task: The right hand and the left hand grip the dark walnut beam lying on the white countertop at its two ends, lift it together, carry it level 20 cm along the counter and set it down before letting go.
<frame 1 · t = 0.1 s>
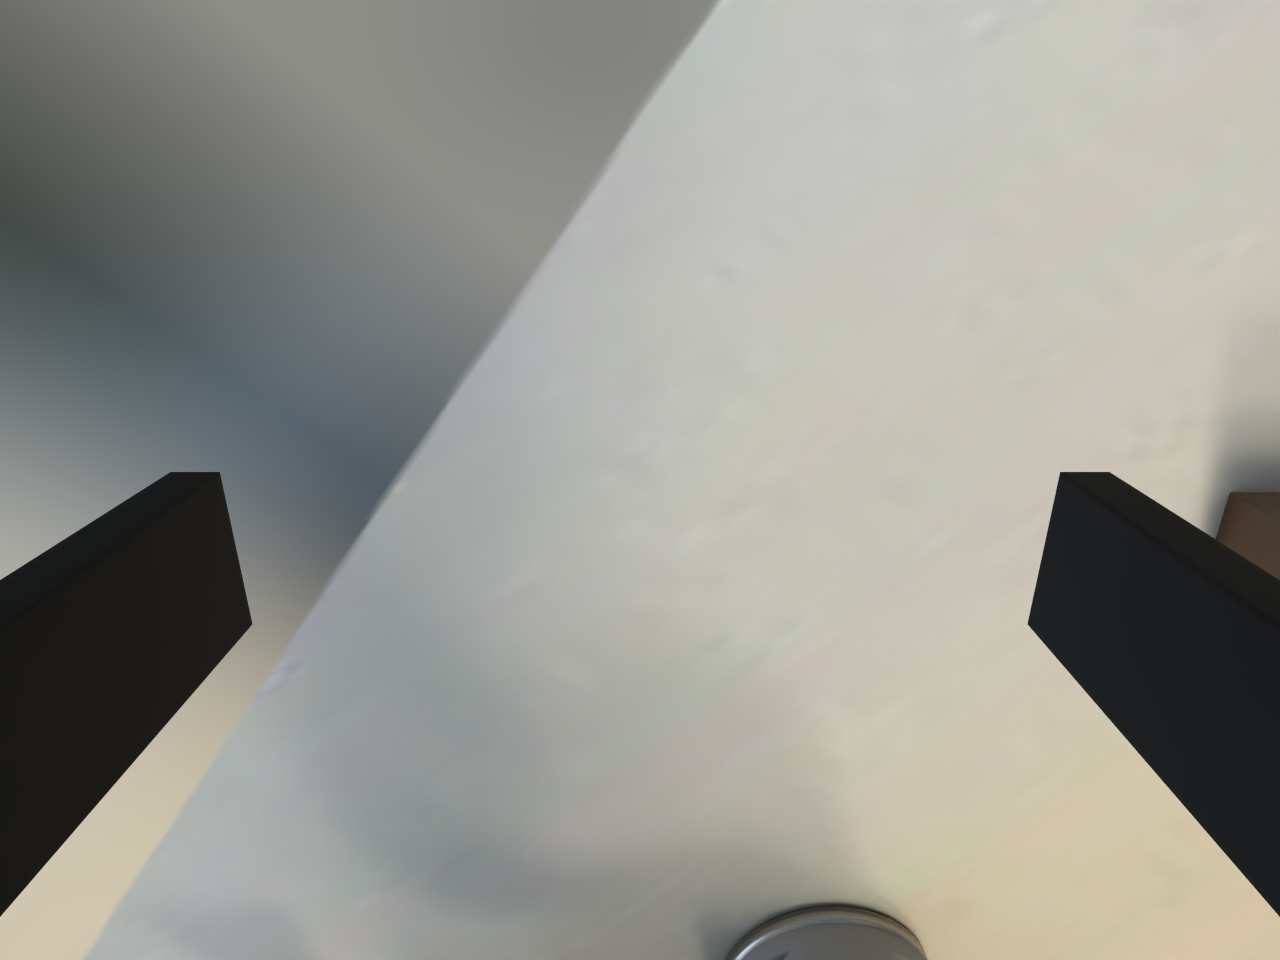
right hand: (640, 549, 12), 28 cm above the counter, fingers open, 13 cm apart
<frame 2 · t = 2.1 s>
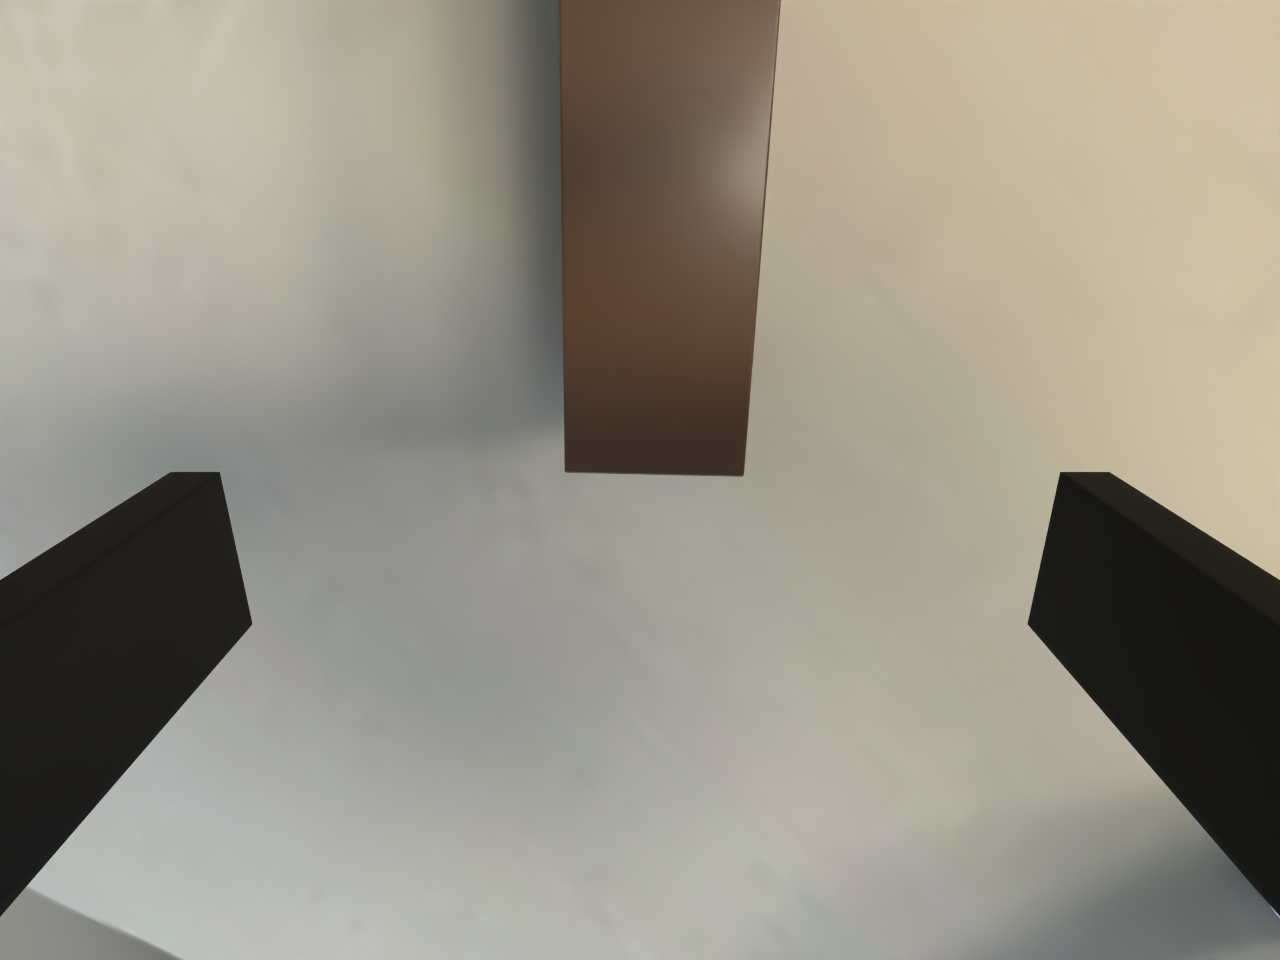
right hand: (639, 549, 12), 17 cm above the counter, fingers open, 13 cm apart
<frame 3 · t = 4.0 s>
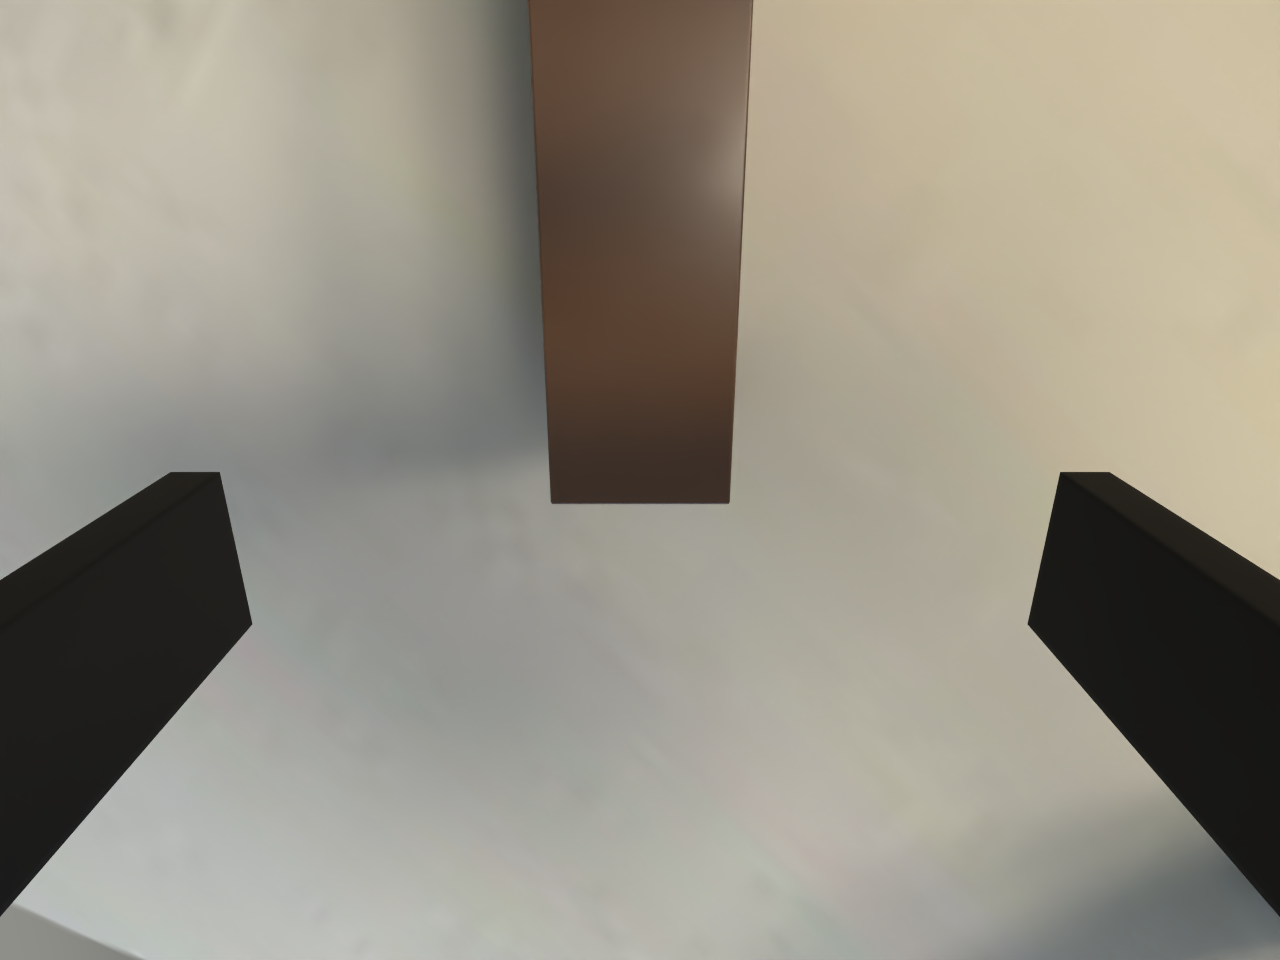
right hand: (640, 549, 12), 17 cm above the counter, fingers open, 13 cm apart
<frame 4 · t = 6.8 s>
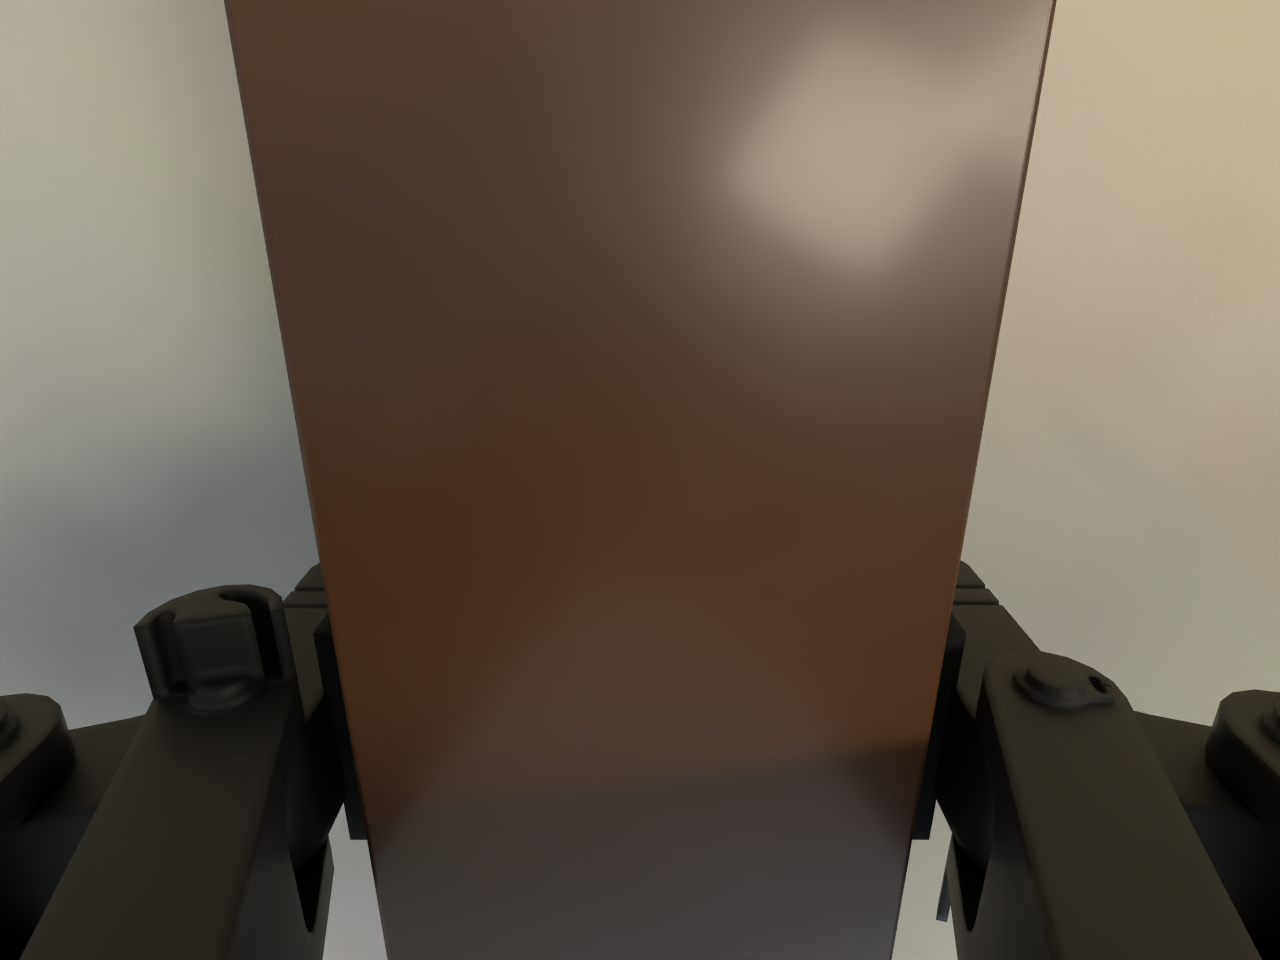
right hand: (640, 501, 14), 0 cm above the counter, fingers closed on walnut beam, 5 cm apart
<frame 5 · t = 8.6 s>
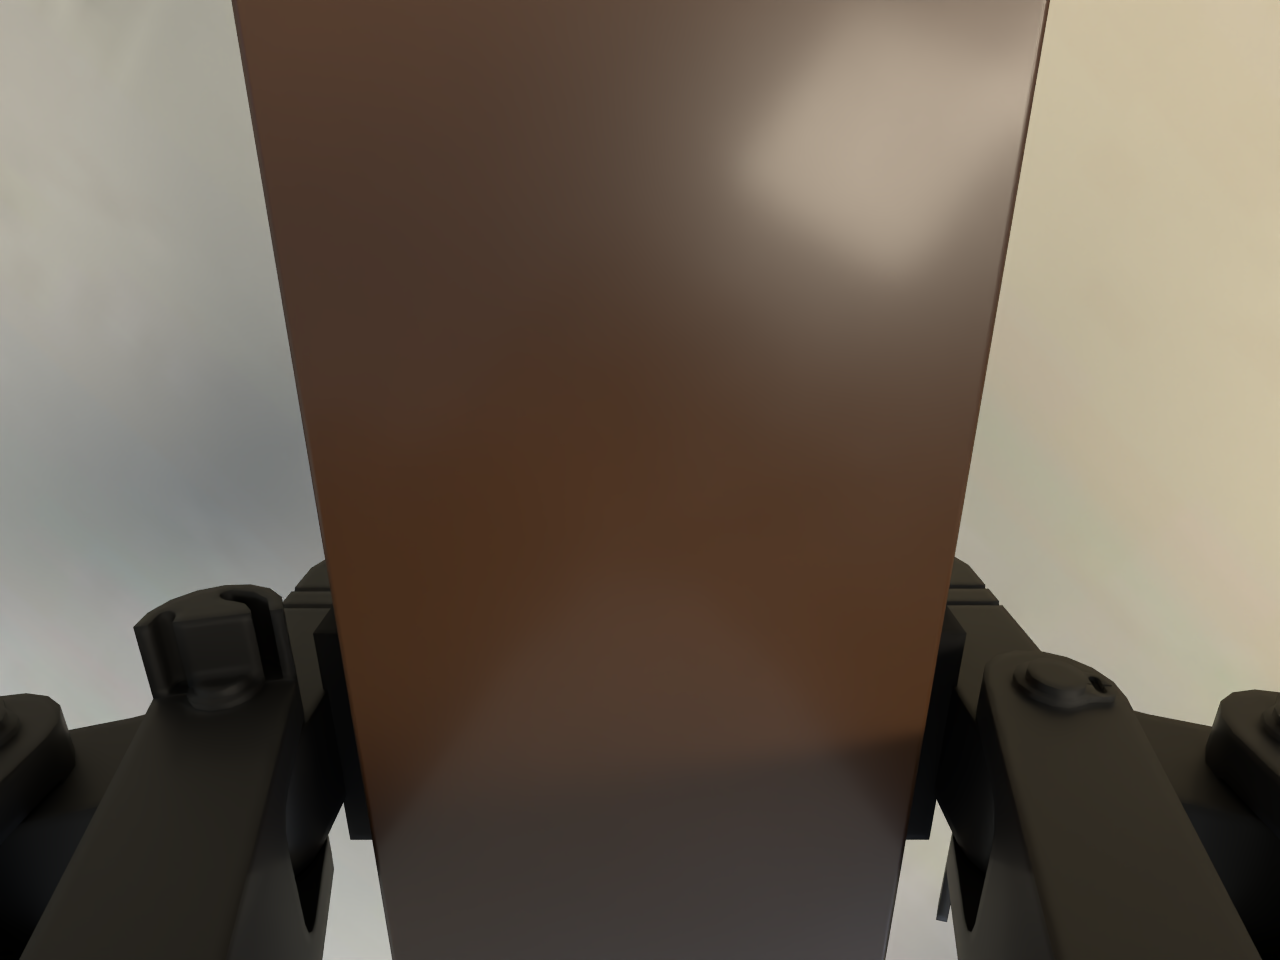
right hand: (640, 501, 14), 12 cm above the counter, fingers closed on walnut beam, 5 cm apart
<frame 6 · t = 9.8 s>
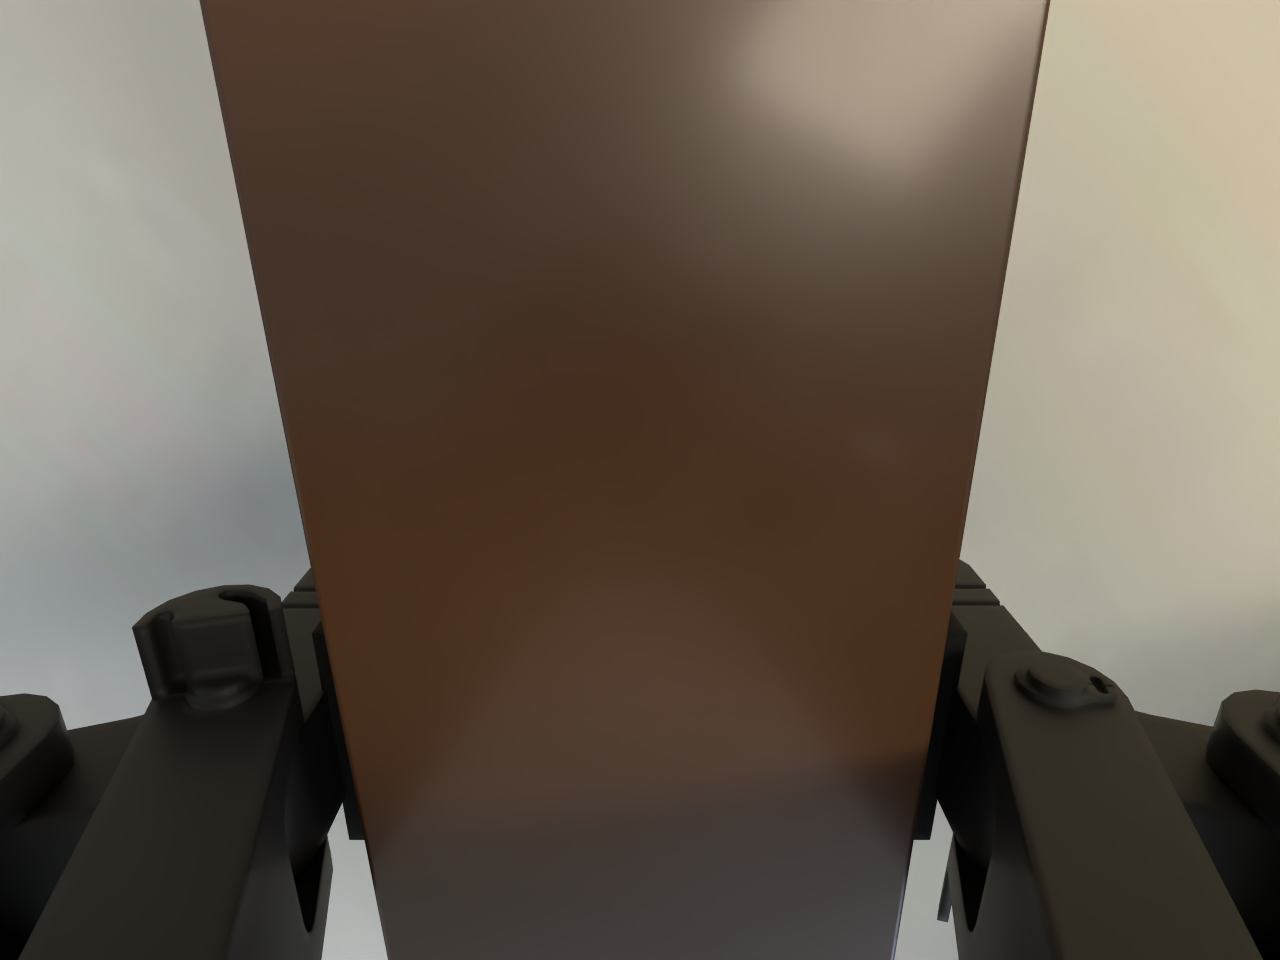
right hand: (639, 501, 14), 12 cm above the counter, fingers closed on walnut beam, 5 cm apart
when the right hand's fingers open (1 cm above the counter, at t = 13.1 s): walnut beam stays where it is, on the counter.
when the left hand's fingers open (6 cm above the counter, at t = 13.3 s): walnut beam stays where it is, on the counter.
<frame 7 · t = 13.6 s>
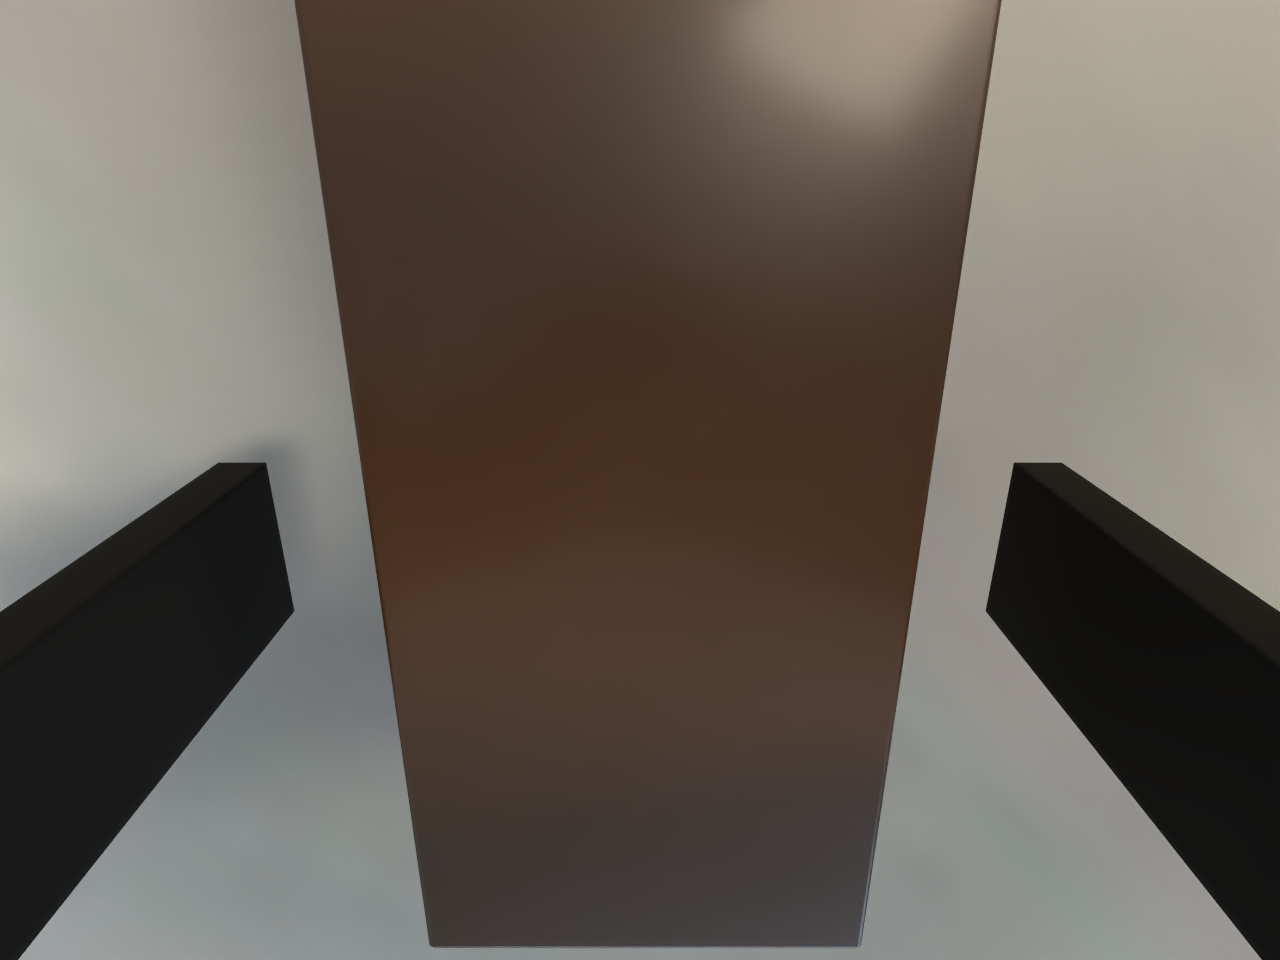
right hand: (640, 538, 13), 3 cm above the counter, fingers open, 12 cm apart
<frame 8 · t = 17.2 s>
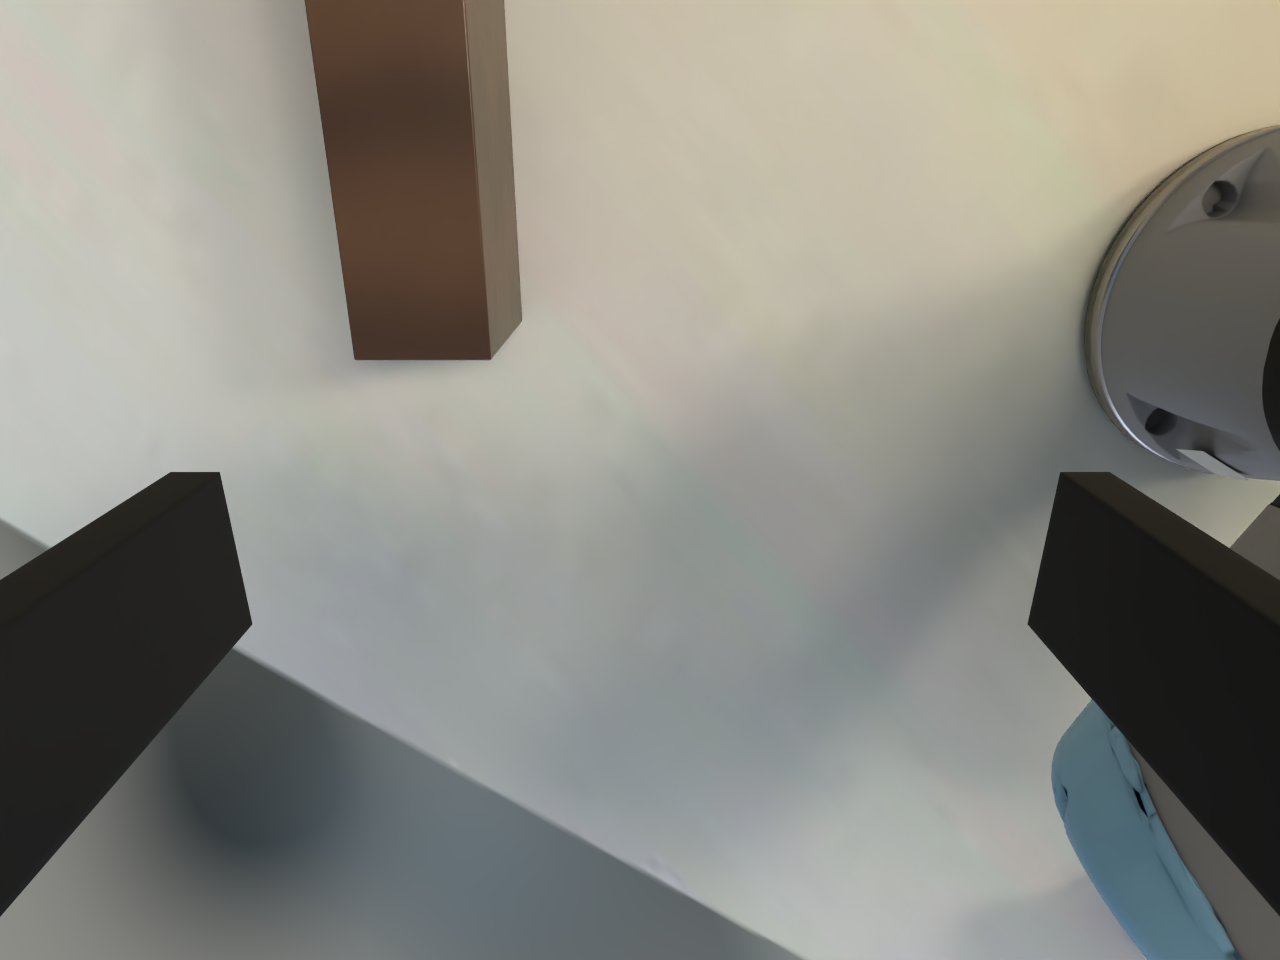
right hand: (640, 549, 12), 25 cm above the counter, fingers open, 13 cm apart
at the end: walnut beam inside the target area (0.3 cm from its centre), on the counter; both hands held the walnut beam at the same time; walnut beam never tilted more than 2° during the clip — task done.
